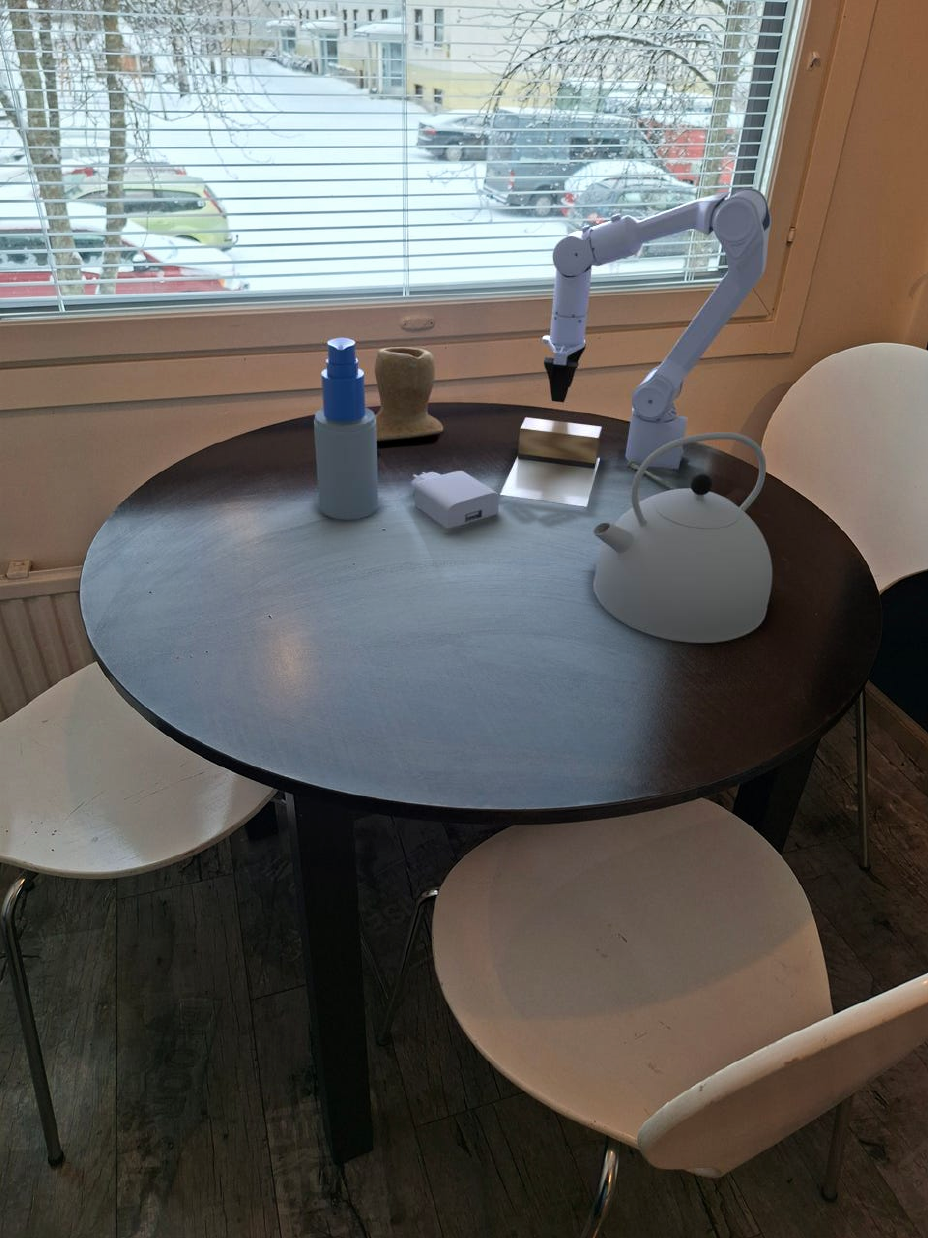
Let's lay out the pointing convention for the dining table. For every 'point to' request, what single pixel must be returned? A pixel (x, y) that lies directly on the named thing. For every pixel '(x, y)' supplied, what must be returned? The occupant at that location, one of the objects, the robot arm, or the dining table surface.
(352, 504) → the spray bottle
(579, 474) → the whiteboard
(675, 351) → the robot arm
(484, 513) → the charger
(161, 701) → the dining table surface
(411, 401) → the stone cup
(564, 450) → the eraser
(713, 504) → the kettle
